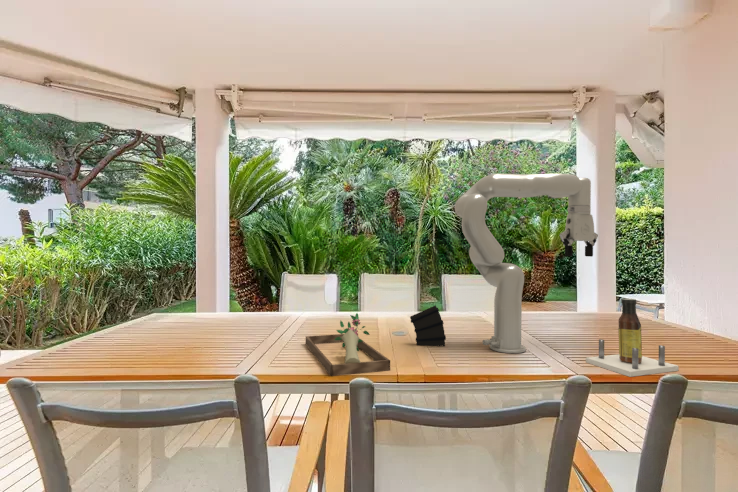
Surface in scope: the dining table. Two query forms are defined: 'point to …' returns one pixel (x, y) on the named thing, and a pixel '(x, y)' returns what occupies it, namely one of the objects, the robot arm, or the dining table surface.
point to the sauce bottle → (629, 331)
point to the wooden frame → (348, 368)
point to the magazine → (429, 327)
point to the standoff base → (627, 367)
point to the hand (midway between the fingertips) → (578, 256)
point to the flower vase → (351, 340)
